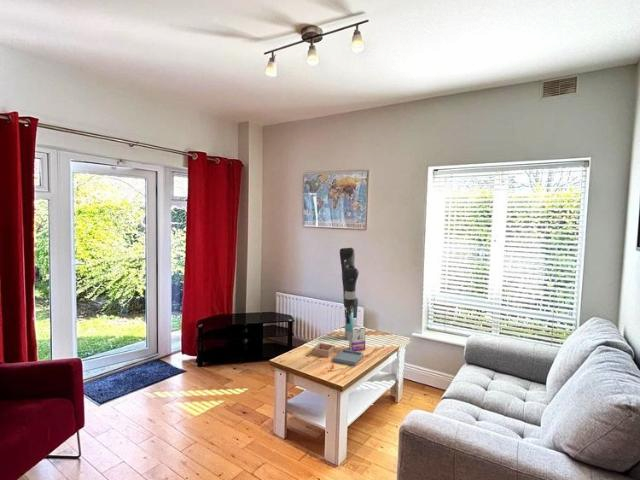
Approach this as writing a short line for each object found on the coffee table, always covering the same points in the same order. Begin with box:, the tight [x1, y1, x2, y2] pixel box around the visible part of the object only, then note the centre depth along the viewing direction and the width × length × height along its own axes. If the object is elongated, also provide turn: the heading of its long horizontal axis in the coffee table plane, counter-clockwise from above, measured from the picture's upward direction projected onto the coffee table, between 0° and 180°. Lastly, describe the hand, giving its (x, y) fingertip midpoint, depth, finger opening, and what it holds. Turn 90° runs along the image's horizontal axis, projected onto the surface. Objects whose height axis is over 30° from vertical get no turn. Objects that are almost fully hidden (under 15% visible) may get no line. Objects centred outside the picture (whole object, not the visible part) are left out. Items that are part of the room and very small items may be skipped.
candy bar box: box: [348, 325, 366, 352], centre depth 248 cm, size 11×5×16 cm, turn 112°
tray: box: [332, 348, 364, 367], centre depth 231 cm, size 18×15×2 cm
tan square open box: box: [312, 342, 336, 358], centre depth 241 cm, size 12×12×4 cm
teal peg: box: [346, 312, 353, 331], centre depth 230 cm, size 5×5×12 cm
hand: (349, 322), depth 230 cm, fingers closed on teal peg, 5 cm apart
